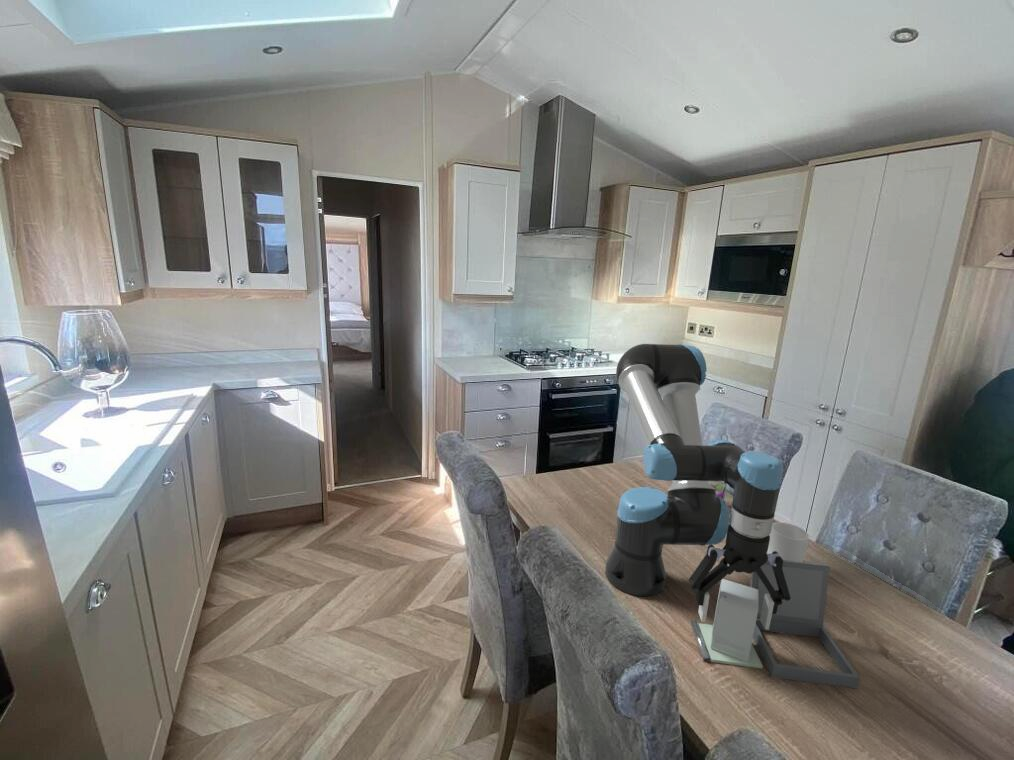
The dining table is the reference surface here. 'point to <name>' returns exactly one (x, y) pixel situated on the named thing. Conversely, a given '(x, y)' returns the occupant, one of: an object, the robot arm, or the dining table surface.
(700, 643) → the rod
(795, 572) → the lid
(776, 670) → the grey square frame
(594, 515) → the dining table surface
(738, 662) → the mat
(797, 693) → the dining table surface
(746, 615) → the supplement box
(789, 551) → the mug
